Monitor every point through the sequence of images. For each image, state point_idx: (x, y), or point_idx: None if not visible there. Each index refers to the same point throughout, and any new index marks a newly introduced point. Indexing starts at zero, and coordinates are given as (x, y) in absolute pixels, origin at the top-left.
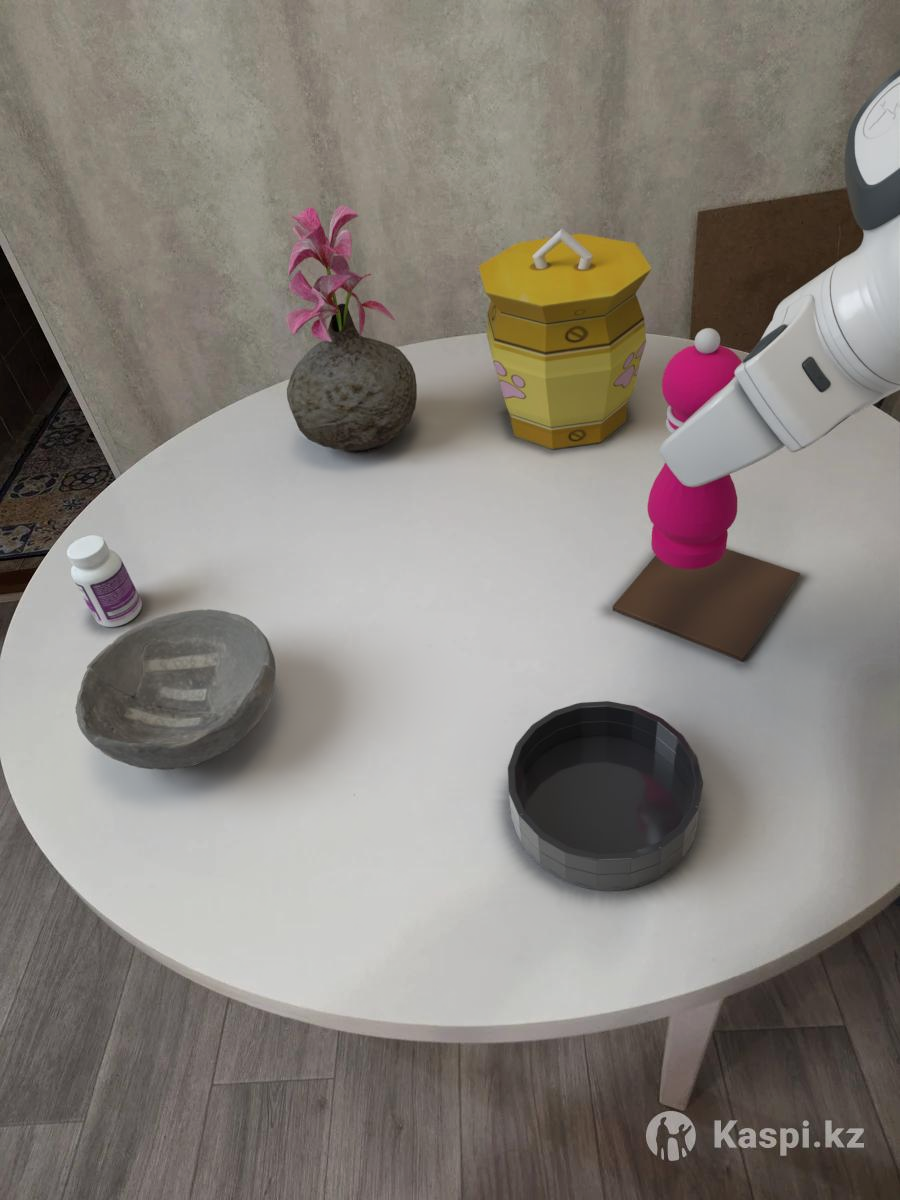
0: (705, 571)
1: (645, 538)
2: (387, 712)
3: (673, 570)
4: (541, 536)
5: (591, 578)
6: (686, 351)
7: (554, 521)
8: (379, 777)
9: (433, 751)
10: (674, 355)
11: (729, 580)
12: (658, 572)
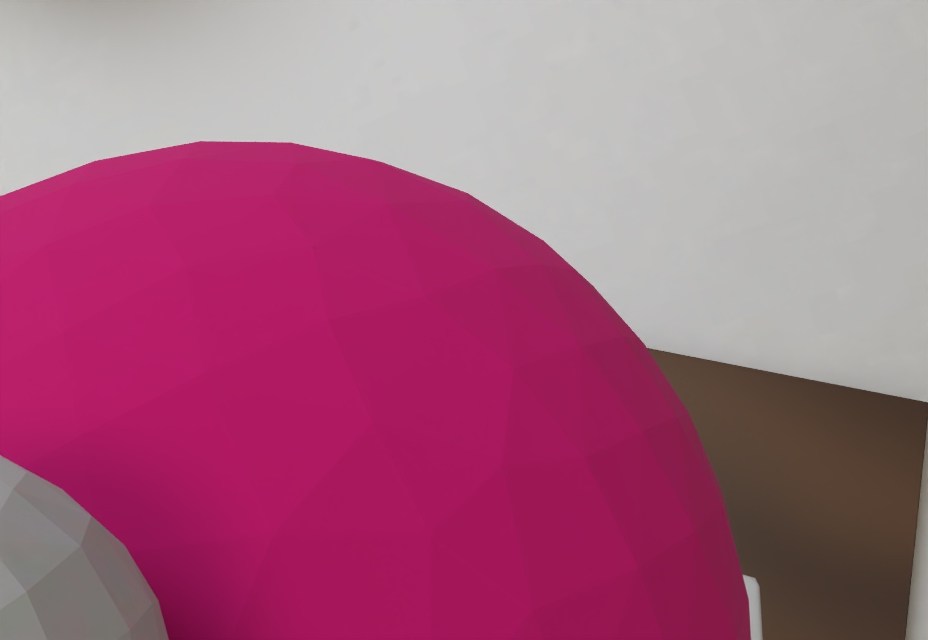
0: (794, 520)
1: (880, 334)
2: (171, 35)
3: (767, 439)
4: (782, 93)
5: (675, 257)
6: (52, 321)
7: (853, 99)
8: (34, 93)
9: (108, 151)
10: (240, 163)
11: (783, 588)
12: (745, 405)
